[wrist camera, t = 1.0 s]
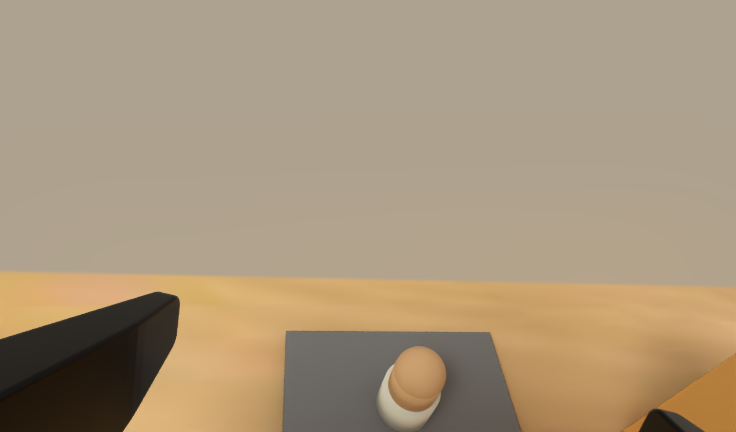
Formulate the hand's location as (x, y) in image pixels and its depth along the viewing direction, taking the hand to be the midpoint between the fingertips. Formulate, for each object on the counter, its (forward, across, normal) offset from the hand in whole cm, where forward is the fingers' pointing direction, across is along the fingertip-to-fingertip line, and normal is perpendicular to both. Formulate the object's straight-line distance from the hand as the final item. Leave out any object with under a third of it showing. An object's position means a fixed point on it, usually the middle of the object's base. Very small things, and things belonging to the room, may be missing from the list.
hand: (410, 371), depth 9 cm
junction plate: (+12, -3, +11) cm, 17 cm away
